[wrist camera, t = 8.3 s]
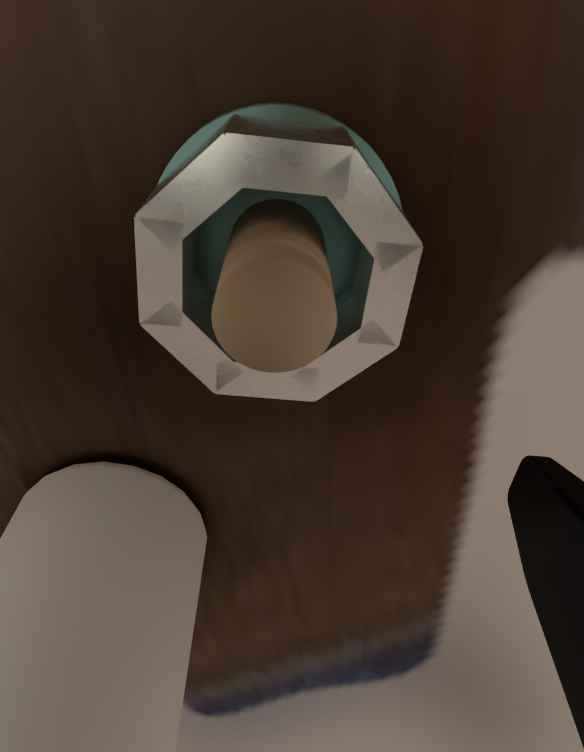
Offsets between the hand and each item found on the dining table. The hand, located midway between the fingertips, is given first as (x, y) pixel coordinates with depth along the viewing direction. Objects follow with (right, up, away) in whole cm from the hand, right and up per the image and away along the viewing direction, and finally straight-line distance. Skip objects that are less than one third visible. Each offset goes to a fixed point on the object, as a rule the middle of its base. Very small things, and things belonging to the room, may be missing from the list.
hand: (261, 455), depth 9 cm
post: (0, +6, +9) cm, 11 cm away
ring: (0, +5, +8) cm, 10 cm away
